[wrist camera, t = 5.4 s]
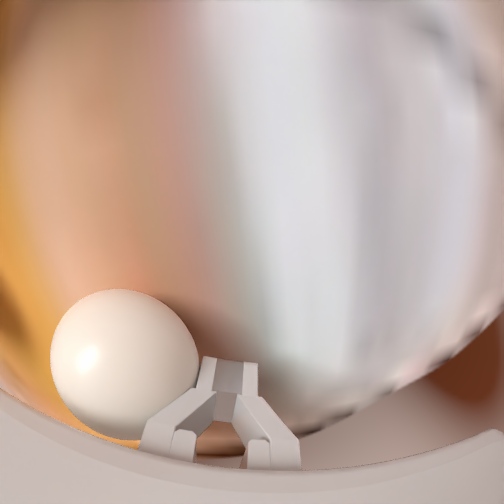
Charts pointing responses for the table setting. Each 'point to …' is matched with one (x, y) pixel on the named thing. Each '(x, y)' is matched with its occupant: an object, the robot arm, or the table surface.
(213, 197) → the table surface
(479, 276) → the table surface
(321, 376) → the table surface
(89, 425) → the white ball
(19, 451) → the robot arm
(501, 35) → the table surface
